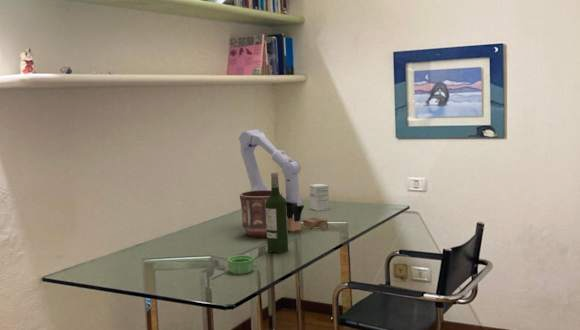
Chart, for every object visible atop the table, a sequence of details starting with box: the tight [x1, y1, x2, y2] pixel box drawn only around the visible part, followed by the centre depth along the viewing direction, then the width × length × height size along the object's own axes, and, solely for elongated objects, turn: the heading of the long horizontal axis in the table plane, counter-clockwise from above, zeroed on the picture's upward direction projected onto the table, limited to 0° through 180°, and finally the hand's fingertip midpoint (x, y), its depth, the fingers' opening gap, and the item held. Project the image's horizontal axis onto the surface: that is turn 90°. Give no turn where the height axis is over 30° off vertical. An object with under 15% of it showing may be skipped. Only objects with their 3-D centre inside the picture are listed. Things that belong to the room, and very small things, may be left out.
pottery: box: [239, 189, 283, 239], centre depth 262 cm, size 18×18×18 cm
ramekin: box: [227, 254, 255, 275], centre depth 210 cm, size 9×9×4 cm
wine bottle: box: [265, 172, 289, 254], centre depth 233 cm, size 8×8×30 cm
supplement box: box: [309, 183, 330, 212], centre depth 315 cm, size 7×7×13 cm
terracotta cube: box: [287, 218, 302, 232], centre depth 270 cm, size 4×4×5 cm
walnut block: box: [302, 216, 329, 229], centre depth 275 cm, size 8×8×4 cm
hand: (293, 219), depth 269 cm, fingers open, 7 cm apart
